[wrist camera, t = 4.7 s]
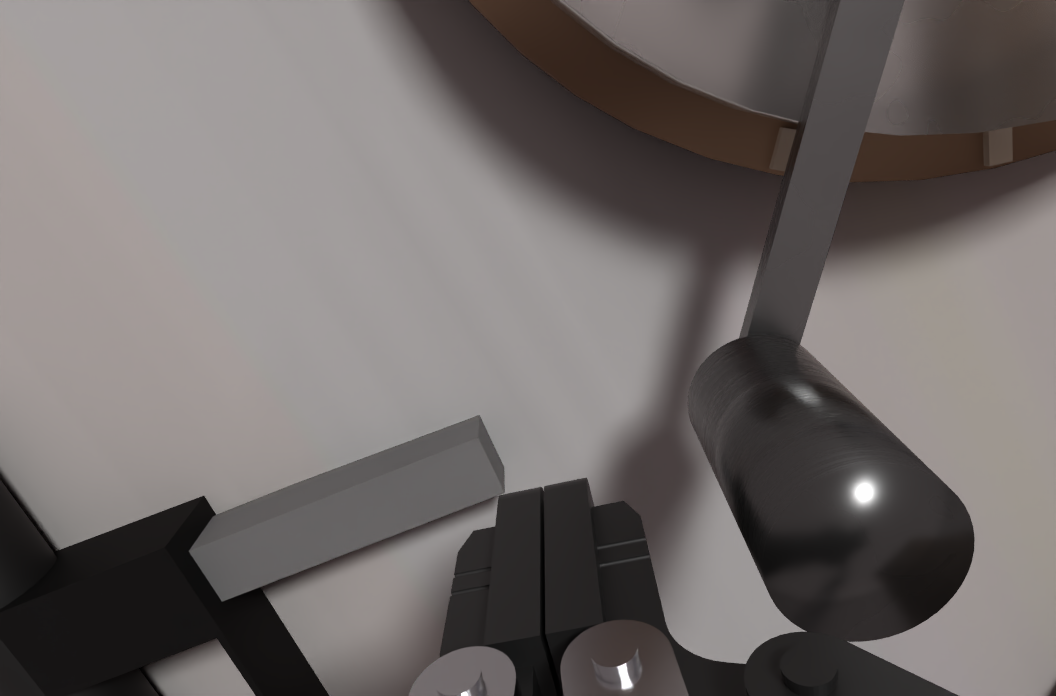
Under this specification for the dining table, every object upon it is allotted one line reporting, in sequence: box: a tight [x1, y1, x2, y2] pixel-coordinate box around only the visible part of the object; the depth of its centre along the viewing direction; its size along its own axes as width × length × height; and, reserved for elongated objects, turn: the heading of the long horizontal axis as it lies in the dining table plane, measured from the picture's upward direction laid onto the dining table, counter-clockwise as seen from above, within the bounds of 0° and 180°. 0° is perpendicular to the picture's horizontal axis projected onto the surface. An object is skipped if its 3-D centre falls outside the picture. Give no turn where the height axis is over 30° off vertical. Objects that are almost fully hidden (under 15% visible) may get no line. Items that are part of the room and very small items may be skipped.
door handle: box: [0, 415, 505, 696], centre depth 20 cm, size 3×20×16 cm
